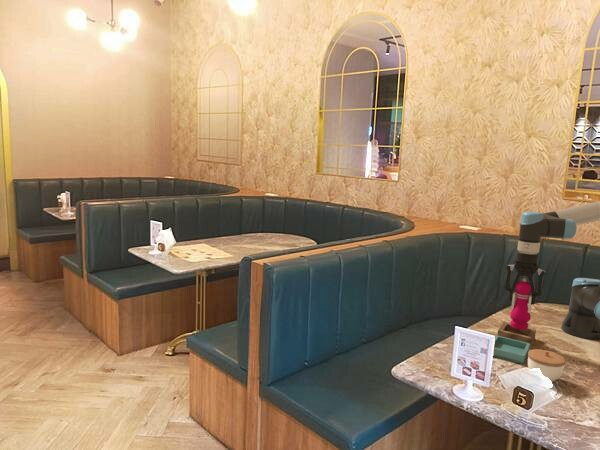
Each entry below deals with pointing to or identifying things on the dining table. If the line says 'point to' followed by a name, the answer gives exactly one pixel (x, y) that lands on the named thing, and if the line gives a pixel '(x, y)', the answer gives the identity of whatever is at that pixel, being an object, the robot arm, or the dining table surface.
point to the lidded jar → (546, 363)
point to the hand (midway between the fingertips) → (520, 310)
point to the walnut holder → (517, 333)
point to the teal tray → (511, 349)
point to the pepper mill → (521, 306)
